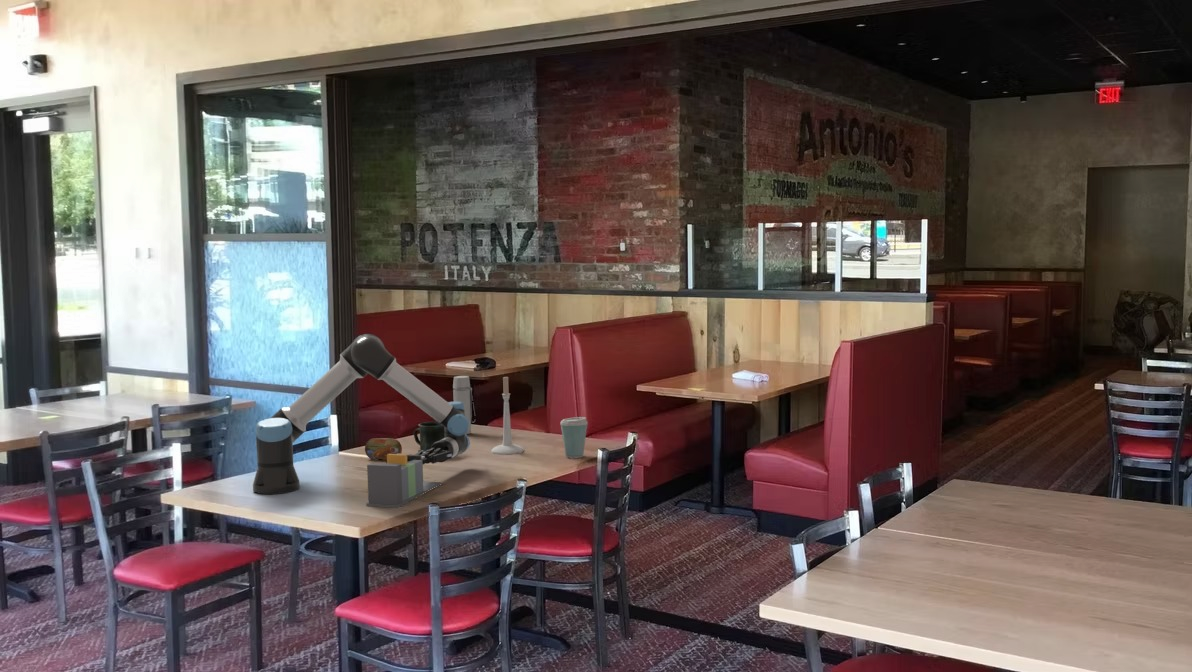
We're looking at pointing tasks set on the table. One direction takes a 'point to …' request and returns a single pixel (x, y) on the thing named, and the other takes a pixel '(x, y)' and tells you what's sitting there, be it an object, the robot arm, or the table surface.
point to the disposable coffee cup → (574, 436)
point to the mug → (429, 434)
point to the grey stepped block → (396, 483)
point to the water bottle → (463, 396)
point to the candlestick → (506, 427)
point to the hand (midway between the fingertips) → (414, 463)
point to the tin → (382, 448)
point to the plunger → (413, 457)
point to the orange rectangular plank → (397, 459)
